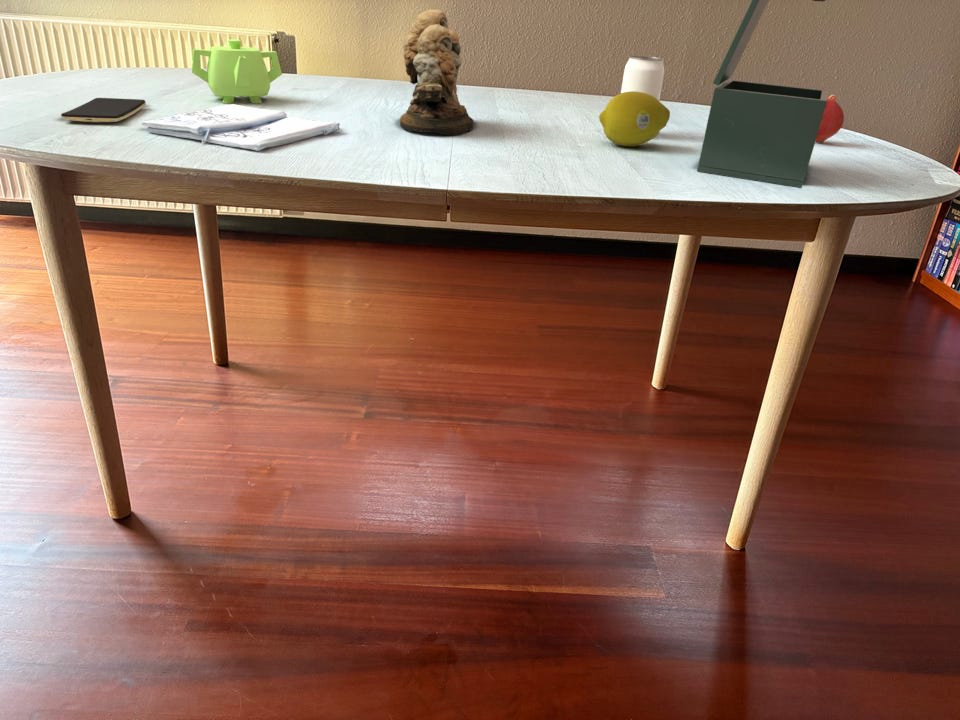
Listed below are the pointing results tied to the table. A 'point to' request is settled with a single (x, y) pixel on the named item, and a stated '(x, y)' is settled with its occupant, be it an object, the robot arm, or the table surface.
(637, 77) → the can
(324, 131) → the open sketchbook
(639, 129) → the lemon
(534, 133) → the table surface
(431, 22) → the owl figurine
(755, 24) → the bin lid
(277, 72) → the teapot
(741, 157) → the trash bin
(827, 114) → the onion
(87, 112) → the smartphone
